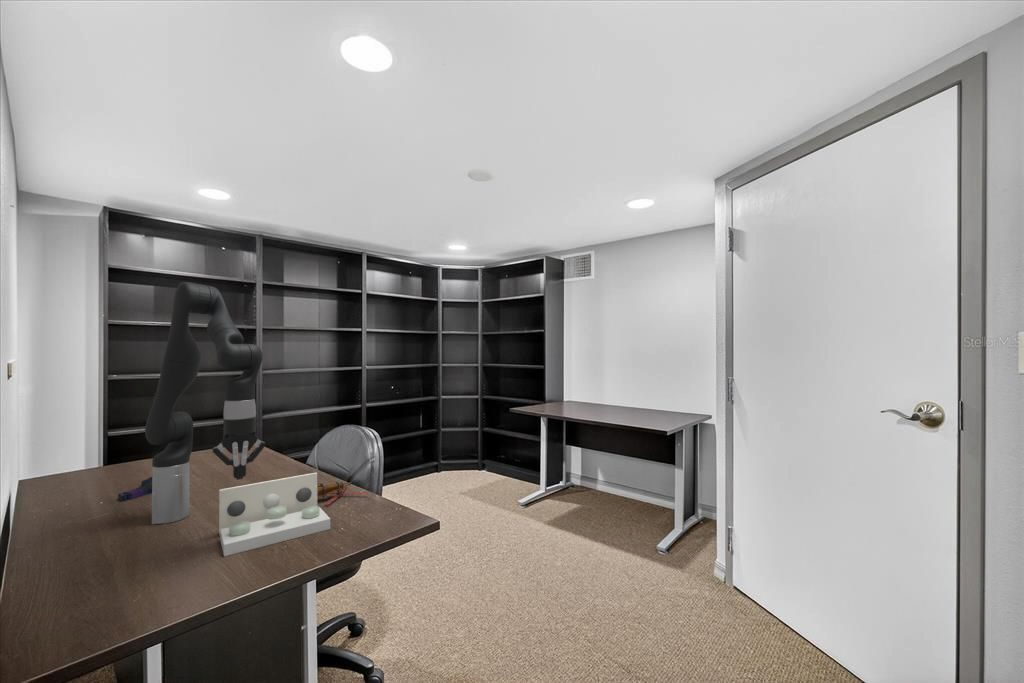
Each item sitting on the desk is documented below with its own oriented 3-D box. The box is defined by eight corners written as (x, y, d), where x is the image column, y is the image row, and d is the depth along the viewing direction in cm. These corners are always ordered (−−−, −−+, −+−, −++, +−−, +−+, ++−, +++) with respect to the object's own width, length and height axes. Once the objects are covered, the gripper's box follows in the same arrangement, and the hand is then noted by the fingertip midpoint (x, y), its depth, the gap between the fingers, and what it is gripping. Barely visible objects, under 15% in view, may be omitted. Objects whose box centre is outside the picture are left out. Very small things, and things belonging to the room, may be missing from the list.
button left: (230, 537, 113) (230, 530, 113) (228, 531, 116) (228, 524, 117) (251, 532, 116) (251, 525, 116) (248, 526, 119) (248, 519, 120)
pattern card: (219, 537, 120) (219, 491, 120) (218, 532, 123) (218, 487, 124) (317, 514, 136) (317, 473, 137) (314, 510, 139) (314, 470, 140)
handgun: (109, 492, 162) (159, 481, 174) (121, 503, 149) (174, 491, 161) (109, 484, 162) (159, 474, 174) (121, 495, 149) (173, 483, 161)
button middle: (268, 521, 118) (268, 513, 118) (265, 515, 122) (265, 508, 122) (287, 516, 121) (287, 509, 121) (284, 511, 125) (284, 504, 125)
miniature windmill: (276, 519, 132) (369, 493, 152) (271, 485, 136) (362, 464, 156) (267, 529, 142) (356, 504, 162) (262, 497, 146) (350, 477, 165)
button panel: (224, 556, 109) (224, 544, 109) (220, 540, 118) (220, 529, 118) (330, 528, 125) (330, 518, 125) (319, 516, 134) (319, 507, 134)
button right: (303, 520, 124) (303, 513, 124) (300, 515, 128) (300, 508, 128) (321, 515, 127) (321, 509, 127) (317, 511, 131) (317, 504, 131)
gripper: (265, 412, 125) (264, 471, 124) (210, 416, 116) (209, 480, 116) (269, 415, 119) (268, 477, 118) (211, 420, 110) (210, 487, 110)
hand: (239, 478), depth 117 cm, fingers closed
